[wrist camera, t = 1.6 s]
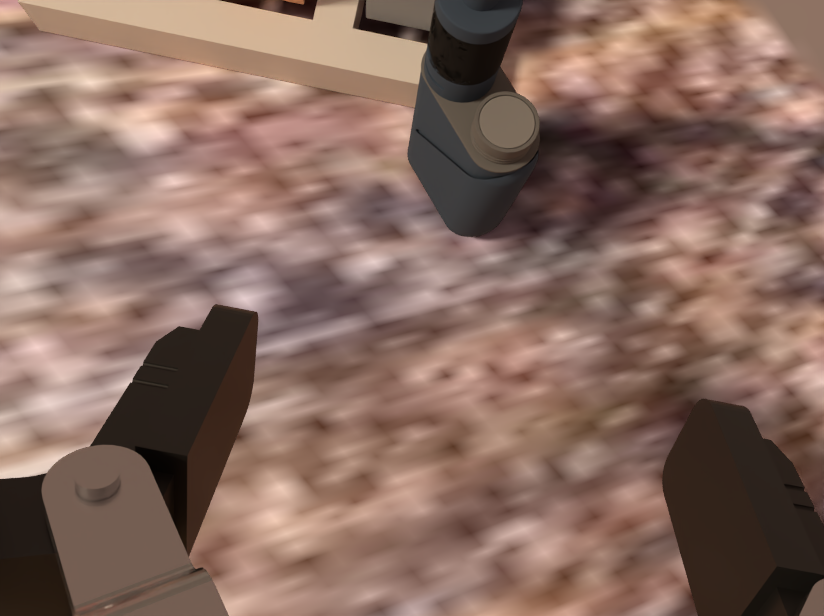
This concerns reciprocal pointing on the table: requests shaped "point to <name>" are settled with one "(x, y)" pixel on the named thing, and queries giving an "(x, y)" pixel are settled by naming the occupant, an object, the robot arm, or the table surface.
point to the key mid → (296, 1)
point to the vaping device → (471, 117)
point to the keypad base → (250, 41)
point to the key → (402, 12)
